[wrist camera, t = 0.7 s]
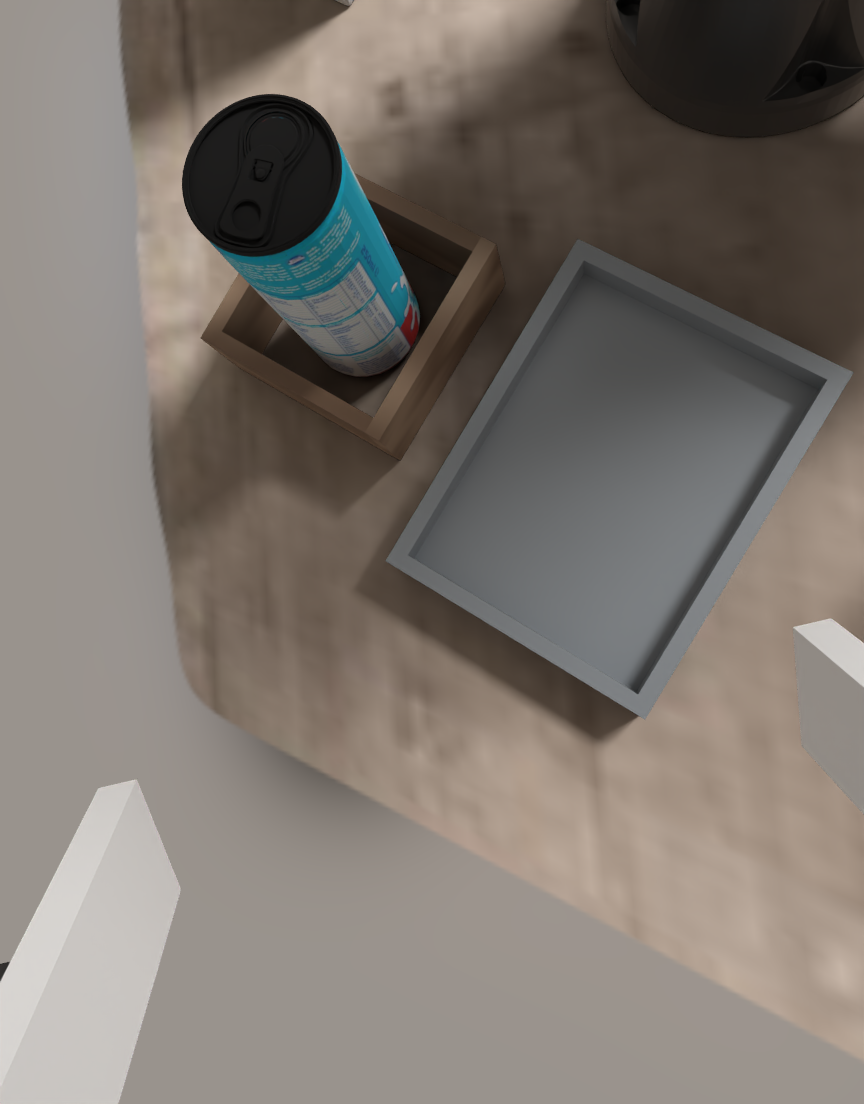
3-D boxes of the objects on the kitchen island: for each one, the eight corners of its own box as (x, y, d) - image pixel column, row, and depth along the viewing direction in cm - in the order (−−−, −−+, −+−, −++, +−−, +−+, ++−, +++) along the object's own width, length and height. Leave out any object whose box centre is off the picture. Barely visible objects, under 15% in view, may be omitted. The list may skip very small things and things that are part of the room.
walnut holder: (337, 199, 45) (311, 151, 41) (505, 284, 43) (496, 243, 38) (238, 367, 45) (200, 338, 41) (400, 460, 43) (378, 440, 38)
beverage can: (443, 300, 43) (370, 129, 29) (388, 400, 43) (287, 279, 29) (348, 255, 45) (231, 69, 30) (295, 352, 45) (152, 213, 30)
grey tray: (578, 261, 42) (577, 238, 40) (837, 388, 39) (853, 372, 37) (397, 565, 42) (385, 561, 40) (641, 714, 39) (644, 719, 37)
